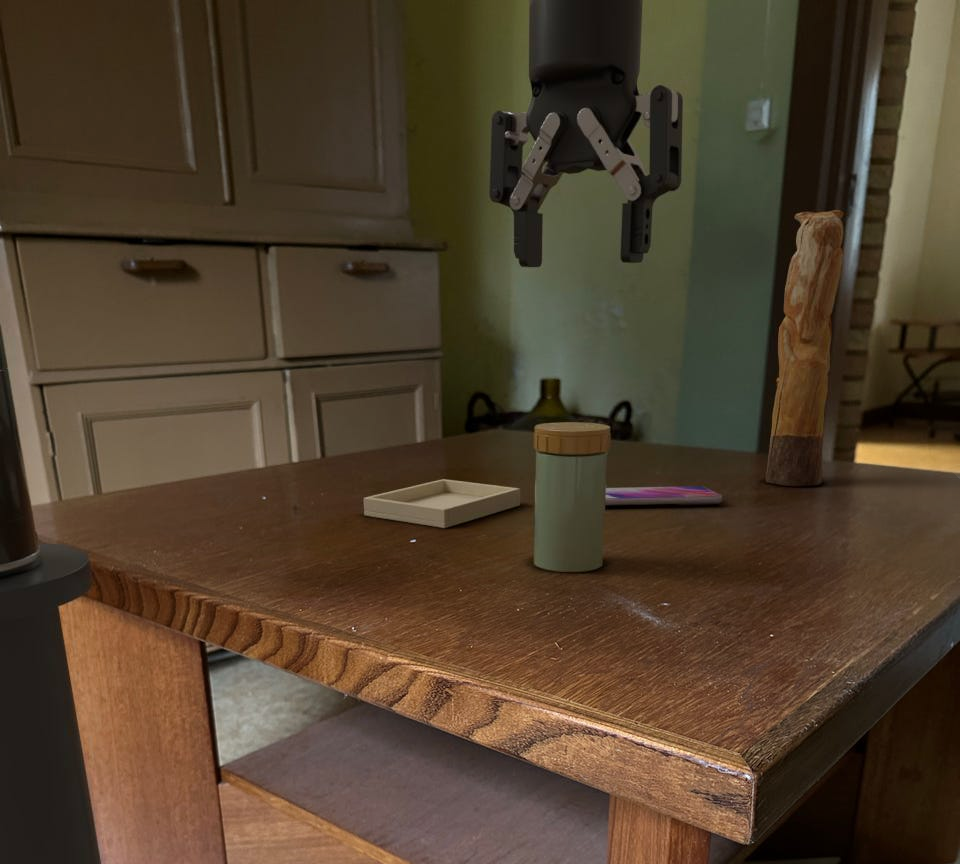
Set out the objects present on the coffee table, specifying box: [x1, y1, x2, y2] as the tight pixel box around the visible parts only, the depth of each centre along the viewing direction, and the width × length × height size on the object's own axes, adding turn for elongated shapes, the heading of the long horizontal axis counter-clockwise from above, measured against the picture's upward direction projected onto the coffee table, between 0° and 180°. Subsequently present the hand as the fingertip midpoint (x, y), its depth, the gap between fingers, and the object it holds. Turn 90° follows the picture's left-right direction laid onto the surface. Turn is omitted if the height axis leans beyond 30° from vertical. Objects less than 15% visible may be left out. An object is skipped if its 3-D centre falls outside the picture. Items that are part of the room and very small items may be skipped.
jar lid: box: [532, 421, 612, 454], centre depth 71 cm, size 6×6×2 cm
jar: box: [533, 450, 609, 573], centre depth 72 cm, size 6×6×10 cm
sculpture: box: [765, 209, 844, 488], centre depth 105 cm, size 7×9×30 cm
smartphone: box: [605, 485, 723, 506], centre depth 98 cm, size 7×1×15 cm
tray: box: [363, 478, 521, 529], centre depth 94 cm, size 13×10×2 cm
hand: (579, 264), depth 66 cm, fingers open, 8 cm apart
